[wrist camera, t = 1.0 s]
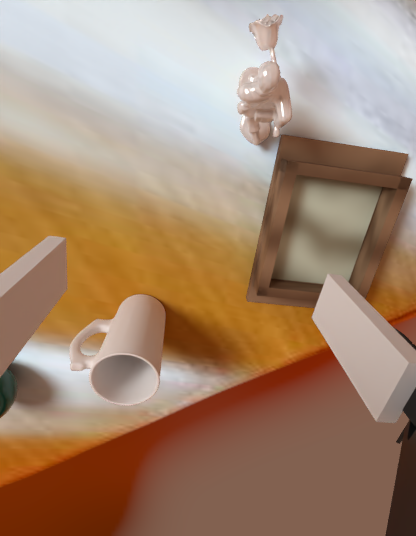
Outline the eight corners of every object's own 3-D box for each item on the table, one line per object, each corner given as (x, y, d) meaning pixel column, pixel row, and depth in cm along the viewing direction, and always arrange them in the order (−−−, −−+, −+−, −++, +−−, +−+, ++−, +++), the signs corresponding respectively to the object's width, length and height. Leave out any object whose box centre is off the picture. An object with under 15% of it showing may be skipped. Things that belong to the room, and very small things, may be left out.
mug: (170, 295, 40) (163, 357, 29) (165, 337, 43) (156, 408, 32) (91, 285, 39) (52, 346, 28) (90, 329, 42) (54, 400, 31)
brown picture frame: (281, 134, 33) (290, 135, 30) (402, 153, 34) (424, 155, 31) (246, 297, 41) (250, 311, 38) (346, 307, 42) (358, 322, 39)
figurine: (239, 150, 33) (262, 160, 23) (213, 53, 30) (226, 9, 19) (282, 135, 33) (327, 138, 22) (261, 35, 29) (303, -21, 18)
